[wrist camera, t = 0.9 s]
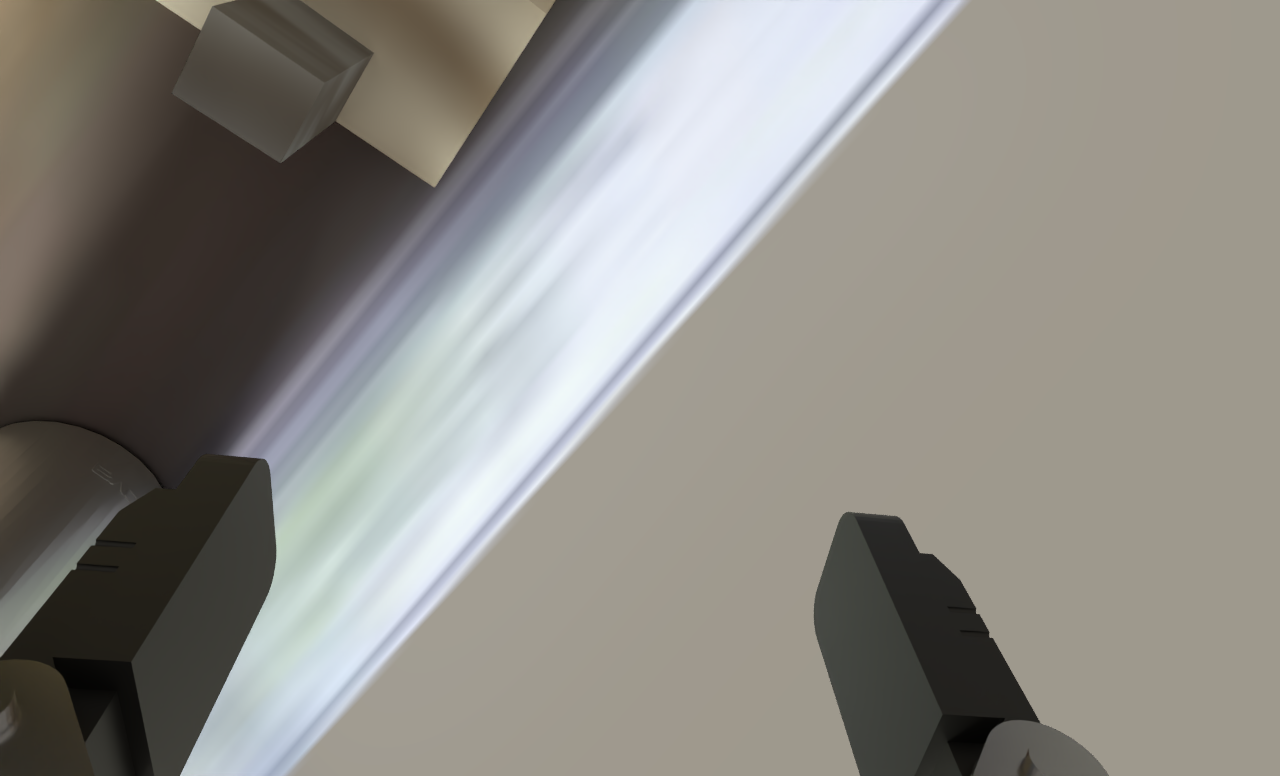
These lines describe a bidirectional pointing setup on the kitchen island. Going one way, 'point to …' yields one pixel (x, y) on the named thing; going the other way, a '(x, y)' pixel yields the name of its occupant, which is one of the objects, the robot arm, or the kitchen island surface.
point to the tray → (422, 69)
